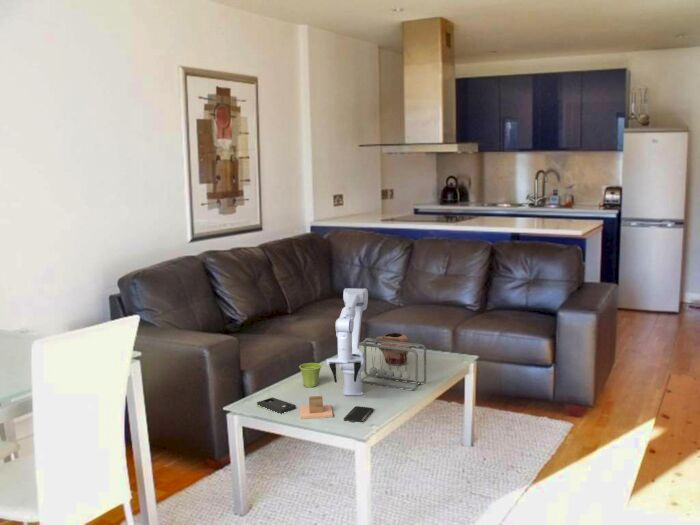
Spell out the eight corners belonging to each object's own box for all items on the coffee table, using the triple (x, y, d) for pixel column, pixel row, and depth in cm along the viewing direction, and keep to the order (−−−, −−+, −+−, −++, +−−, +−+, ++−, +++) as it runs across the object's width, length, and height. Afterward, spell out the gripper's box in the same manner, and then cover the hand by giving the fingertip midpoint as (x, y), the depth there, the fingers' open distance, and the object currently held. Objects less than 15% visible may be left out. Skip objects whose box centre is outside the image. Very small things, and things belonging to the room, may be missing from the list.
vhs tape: (296, 409, 284) (296, 405, 283) (281, 415, 278) (280, 410, 278) (272, 401, 293) (272, 397, 293) (257, 406, 288) (257, 402, 287)
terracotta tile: (300, 407, 284) (300, 405, 284) (330, 406, 285) (330, 404, 285) (300, 418, 272) (300, 416, 272) (332, 417, 273) (332, 415, 273)
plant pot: (318, 389, 307) (318, 369, 306) (297, 388, 309) (296, 368, 307) (324, 382, 316) (323, 363, 315) (303, 381, 318) (302, 362, 317)
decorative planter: (368, 363, 345) (368, 334, 343) (379, 357, 355) (379, 329, 353) (406, 368, 335) (406, 339, 333) (417, 362, 346) (417, 333, 344)
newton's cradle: (353, 381, 317) (353, 342, 314) (364, 375, 326) (364, 336, 323) (416, 391, 302) (416, 350, 300) (426, 384, 312) (426, 344, 309)
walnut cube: (309, 408, 281) (309, 396, 280) (322, 408, 281) (322, 395, 281) (309, 413, 276) (309, 400, 275) (322, 412, 276) (322, 400, 276)
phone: (374, 408, 281) (362, 421, 267) (374, 410, 281) (362, 424, 267) (355, 405, 284) (342, 419, 269) (355, 408, 284) (342, 421, 270)
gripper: (326, 351, 280) (327, 385, 282) (364, 350, 281) (364, 383, 283) (326, 346, 287) (326, 379, 289) (362, 345, 288) (362, 378, 290)
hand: (345, 381), depth 286 cm, fingers open, 7 cm apart
